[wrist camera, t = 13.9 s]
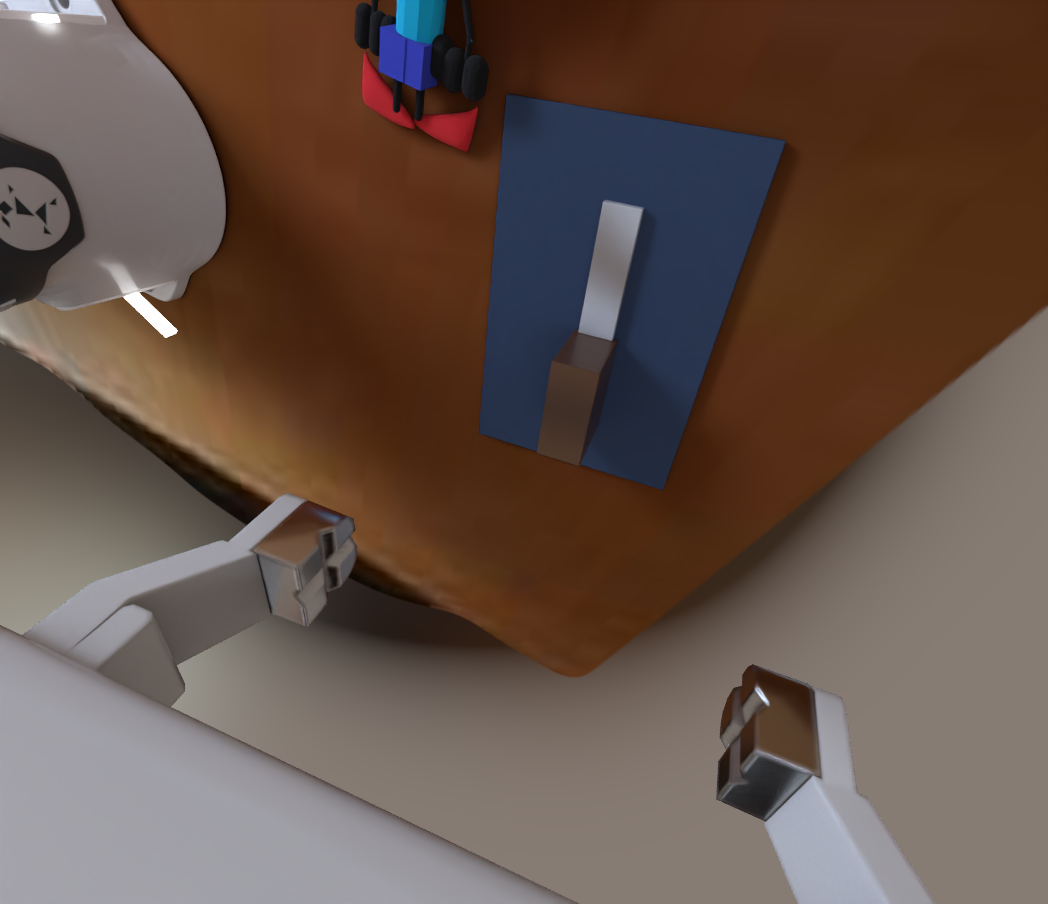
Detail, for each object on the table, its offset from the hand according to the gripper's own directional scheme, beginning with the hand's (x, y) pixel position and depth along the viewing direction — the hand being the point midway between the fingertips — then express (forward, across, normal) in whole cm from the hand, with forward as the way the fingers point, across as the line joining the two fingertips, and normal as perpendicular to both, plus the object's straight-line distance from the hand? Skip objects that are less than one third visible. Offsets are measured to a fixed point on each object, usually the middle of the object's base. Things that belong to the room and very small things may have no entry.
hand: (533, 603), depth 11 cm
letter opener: (+22, +3, +4) cm, 23 cm away
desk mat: (+23, +3, +4) cm, 23 cm away
